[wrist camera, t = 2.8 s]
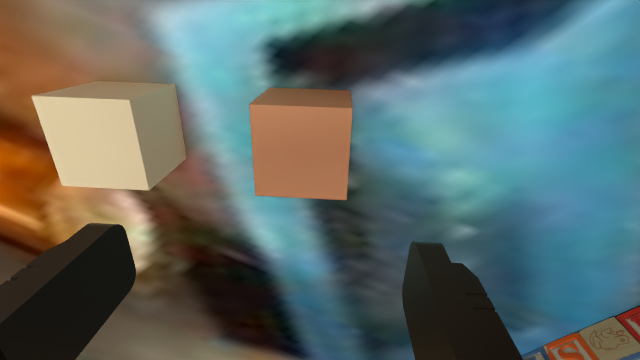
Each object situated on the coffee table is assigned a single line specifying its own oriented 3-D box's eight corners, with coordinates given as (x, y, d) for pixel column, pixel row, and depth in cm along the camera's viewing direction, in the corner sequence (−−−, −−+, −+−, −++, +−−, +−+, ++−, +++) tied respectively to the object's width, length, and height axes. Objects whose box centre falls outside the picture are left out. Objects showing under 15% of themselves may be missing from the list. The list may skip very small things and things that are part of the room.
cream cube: (175, 83, 21) (129, 100, 16) (187, 157, 23) (149, 190, 18) (98, 80, 21) (31, 95, 16) (117, 154, 23) (62, 185, 18)
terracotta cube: (349, 90, 20) (352, 108, 16) (345, 165, 22) (346, 200, 18) (269, 87, 20) (249, 104, 16) (272, 161, 22) (255, 195, 18)
